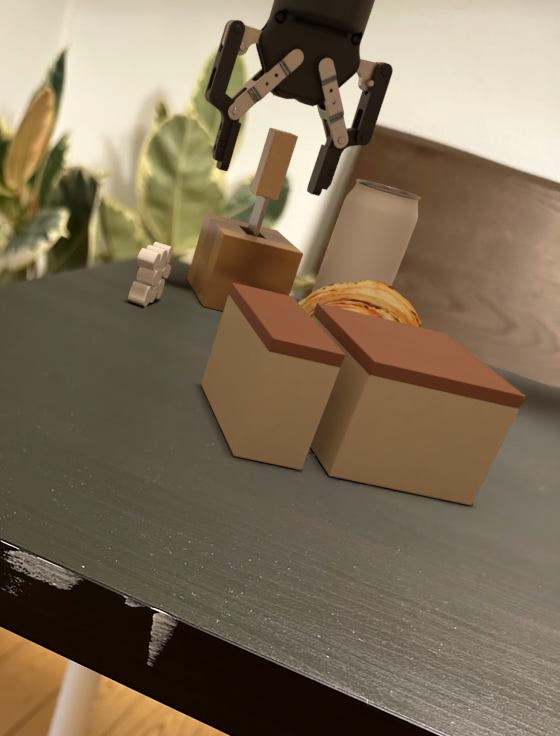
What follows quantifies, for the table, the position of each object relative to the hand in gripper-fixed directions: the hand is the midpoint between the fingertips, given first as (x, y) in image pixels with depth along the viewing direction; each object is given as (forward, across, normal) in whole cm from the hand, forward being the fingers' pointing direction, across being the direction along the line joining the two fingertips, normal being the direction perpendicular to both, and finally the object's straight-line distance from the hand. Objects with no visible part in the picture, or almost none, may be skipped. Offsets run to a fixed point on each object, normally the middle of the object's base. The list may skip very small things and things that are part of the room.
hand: (267, 181), depth 82 cm
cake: (+10, +3, -34) cm, 36 cm away
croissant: (+10, +6, -16) cm, 20 cm away
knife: (+10, 0, 0) cm, 10 cm away
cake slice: (+10, -5, -34) cm, 36 cm away
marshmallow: (+10, -9, -8) cm, 16 cm away
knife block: (+10, 0, 0) cm, 10 cm away
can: (+10, +10, -1) cm, 14 cm away
